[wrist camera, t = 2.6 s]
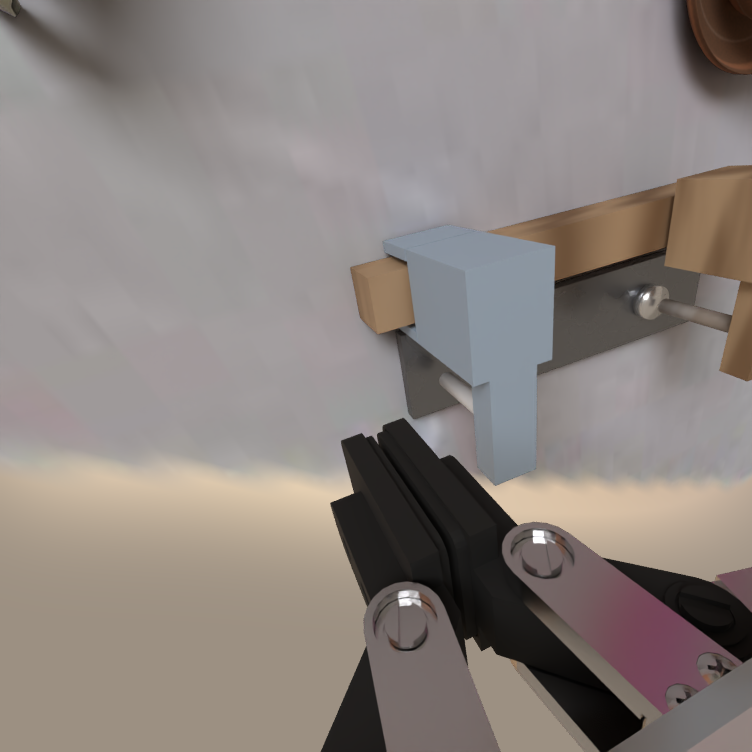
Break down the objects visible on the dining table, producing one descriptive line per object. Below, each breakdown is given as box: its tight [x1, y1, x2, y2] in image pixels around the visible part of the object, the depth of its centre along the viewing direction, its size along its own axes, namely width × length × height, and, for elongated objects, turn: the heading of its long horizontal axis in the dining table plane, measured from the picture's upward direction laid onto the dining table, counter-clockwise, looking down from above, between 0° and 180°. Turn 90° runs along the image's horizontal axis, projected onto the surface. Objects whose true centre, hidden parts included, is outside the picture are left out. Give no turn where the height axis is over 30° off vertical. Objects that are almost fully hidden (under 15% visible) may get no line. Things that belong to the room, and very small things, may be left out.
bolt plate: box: [396, 250, 700, 419], centre depth 29 cm, size 24×6×2 cm, turn 101°
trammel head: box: [383, 225, 555, 486], centre depth 22 cm, size 4×11×9 cm, turn 11°
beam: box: [350, 165, 752, 381], centre depth 24 cm, size 24×11×9 cm, turn 101°
